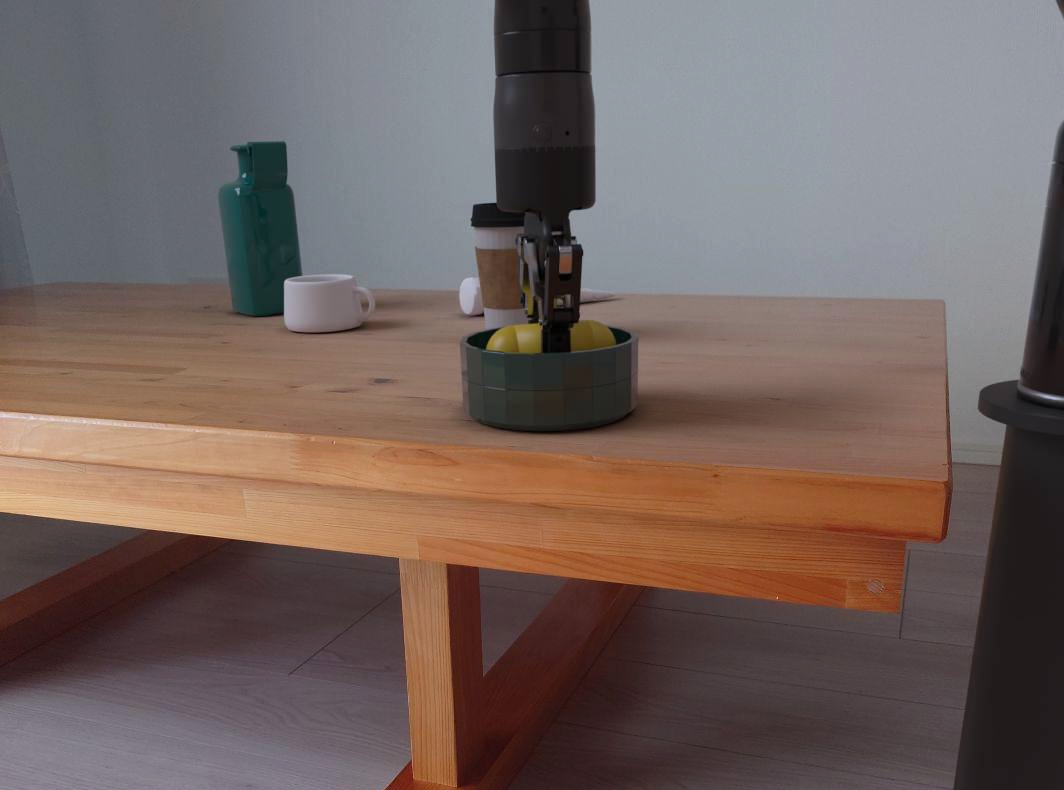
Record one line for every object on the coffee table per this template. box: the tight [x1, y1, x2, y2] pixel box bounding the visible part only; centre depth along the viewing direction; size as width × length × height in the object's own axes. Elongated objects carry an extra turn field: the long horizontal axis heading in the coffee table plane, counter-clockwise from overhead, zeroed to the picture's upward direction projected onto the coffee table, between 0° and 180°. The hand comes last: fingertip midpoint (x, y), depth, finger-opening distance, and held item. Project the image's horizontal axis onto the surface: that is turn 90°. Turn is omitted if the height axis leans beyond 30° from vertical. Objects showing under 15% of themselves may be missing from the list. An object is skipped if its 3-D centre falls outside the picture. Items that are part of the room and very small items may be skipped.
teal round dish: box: [459, 324, 639, 432], centre depth 81 cm, size 14×14×6 cm
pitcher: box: [217, 140, 303, 317], centre depth 136 cm, size 10×8×22 cm
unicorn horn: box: [458, 276, 618, 317], centre depth 135 cm, size 5×24×5 cm, turn 116°
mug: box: [283, 273, 376, 334], centre depth 124 cm, size 12×10×6 cm
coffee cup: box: [470, 202, 531, 330], centre depth 112 cm, size 8×8×15 cm
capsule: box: [486, 319, 616, 353], centre depth 80 cm, size 11×5×5 cm
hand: (549, 369), depth 81 cm, fingers closed on capsule, 4 cm apart
